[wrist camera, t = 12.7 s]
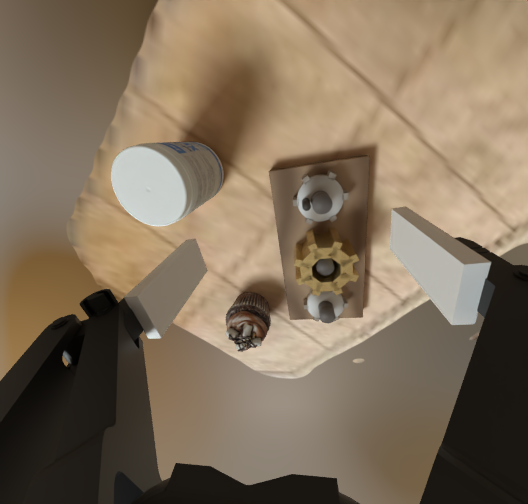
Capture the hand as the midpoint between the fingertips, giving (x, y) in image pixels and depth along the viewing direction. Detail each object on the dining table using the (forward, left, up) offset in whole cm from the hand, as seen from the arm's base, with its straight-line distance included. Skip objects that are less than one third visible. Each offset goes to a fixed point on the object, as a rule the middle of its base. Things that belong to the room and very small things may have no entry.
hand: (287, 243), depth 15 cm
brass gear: (-4, +13, -23) cm, 27 cm away
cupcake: (+12, +26, -25) cm, 38 cm away
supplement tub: (+16, -4, -25) cm, 30 cm away
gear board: (-4, +13, -25) cm, 29 cm away
